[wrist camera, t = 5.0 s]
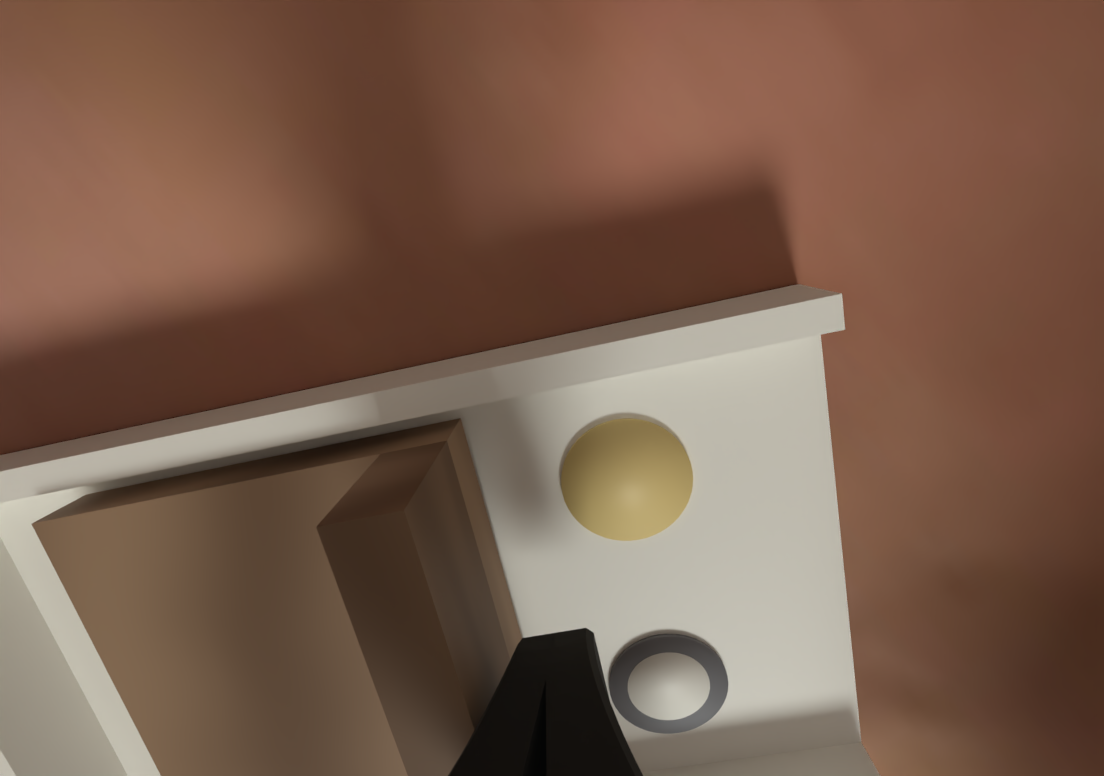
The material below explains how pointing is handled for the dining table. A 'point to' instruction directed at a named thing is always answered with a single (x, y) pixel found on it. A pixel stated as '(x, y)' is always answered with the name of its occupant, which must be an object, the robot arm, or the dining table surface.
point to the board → (542, 532)
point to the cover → (297, 607)
